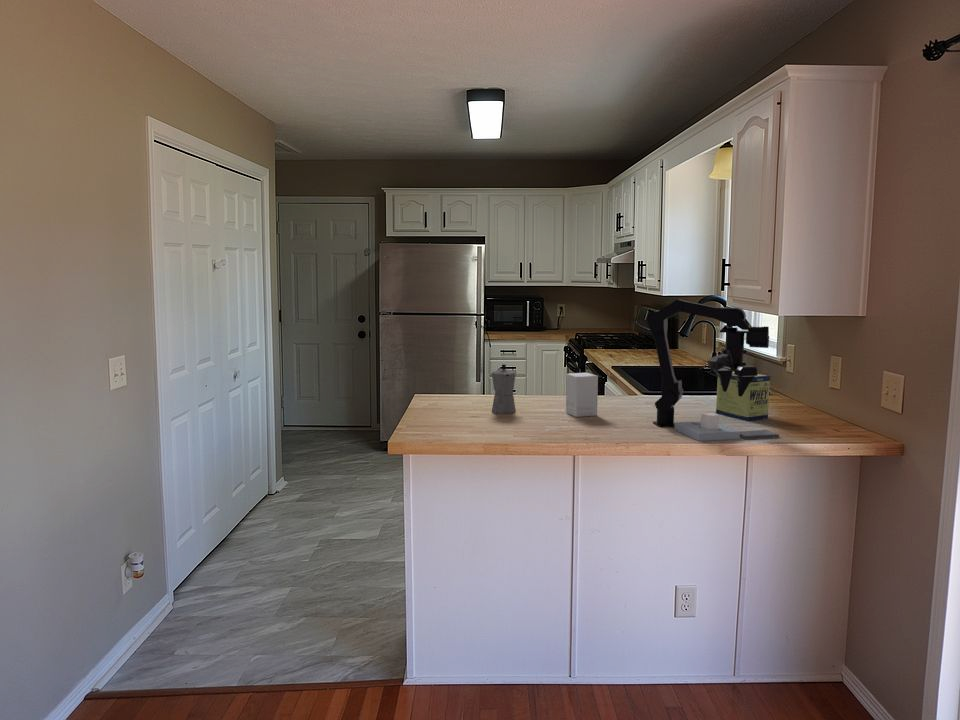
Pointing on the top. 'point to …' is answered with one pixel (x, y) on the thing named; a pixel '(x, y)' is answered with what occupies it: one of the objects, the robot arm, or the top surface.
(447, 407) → the top surface
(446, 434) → the top surface
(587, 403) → the supplement box
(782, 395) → the top surface
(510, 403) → the coffeepot
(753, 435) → the phone
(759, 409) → the protein box
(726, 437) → the plate
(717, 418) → the charger
